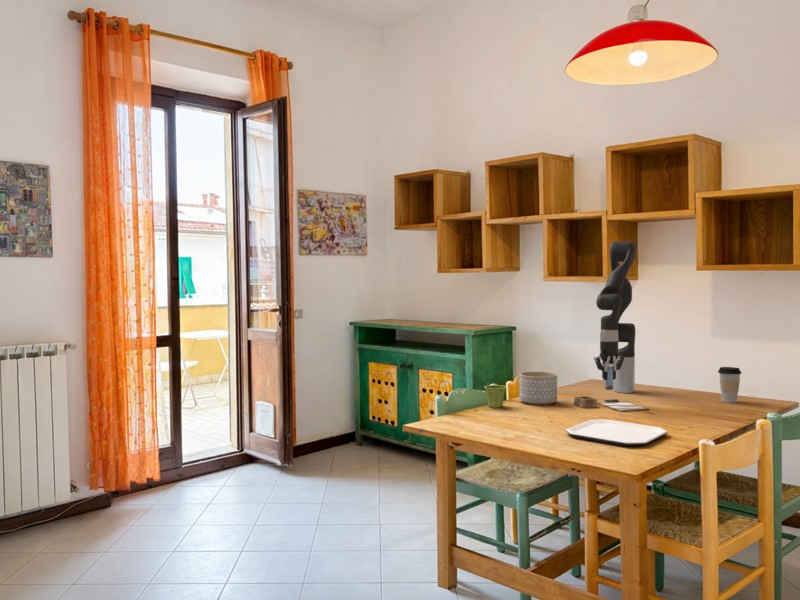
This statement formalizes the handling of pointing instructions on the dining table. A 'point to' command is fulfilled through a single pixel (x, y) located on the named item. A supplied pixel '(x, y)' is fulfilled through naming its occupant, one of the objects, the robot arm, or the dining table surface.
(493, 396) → the plant pot
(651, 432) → the plate
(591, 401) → the pen block
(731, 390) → the coffee cup
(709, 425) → the dining table surface
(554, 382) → the planter
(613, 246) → the robot arm
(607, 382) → the marker
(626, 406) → the clipboard
